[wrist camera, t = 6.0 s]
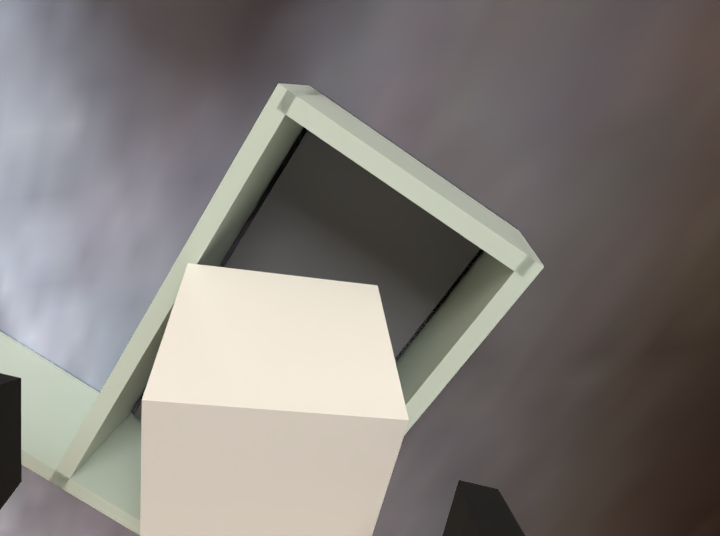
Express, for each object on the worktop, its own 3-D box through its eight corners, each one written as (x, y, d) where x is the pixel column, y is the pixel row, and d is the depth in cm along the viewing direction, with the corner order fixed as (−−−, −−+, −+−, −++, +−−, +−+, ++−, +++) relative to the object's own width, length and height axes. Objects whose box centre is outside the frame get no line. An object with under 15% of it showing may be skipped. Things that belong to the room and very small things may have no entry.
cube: (377, 285, 12) (409, 420, 9) (344, 420, 14) (360, 574, 11) (188, 263, 12) (141, 400, 8) (180, 408, 14) (139, 568, 10)
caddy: (519, 230, 14) (544, 266, 11) (287, 522, 17) (260, 608, 14) (-6, -134, 13) (-131, -200, 10) (-145, 255, 16) (-269, 290, 13)
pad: (485, 237, 14) (486, 240, 14) (282, 499, 17) (280, 506, 17) (315, 121, 14) (312, 121, 13) (138, 410, 16) (133, 415, 16)
